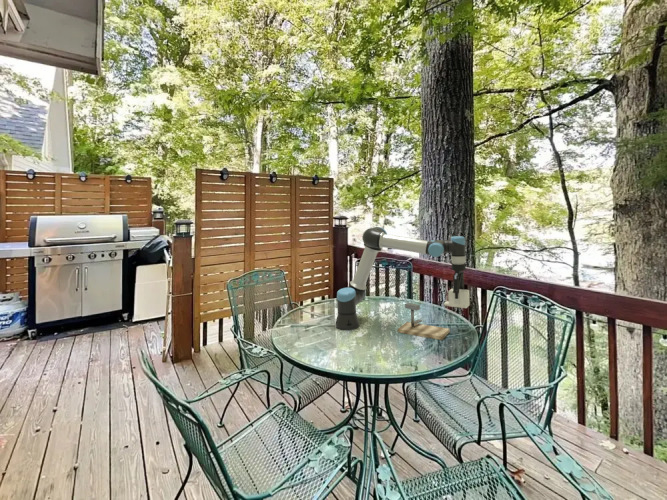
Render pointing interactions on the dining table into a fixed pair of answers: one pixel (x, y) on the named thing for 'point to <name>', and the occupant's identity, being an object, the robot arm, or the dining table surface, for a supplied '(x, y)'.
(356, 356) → the dining table surface
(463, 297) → the cream rectangular block
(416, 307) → the t key
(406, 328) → the base plate
